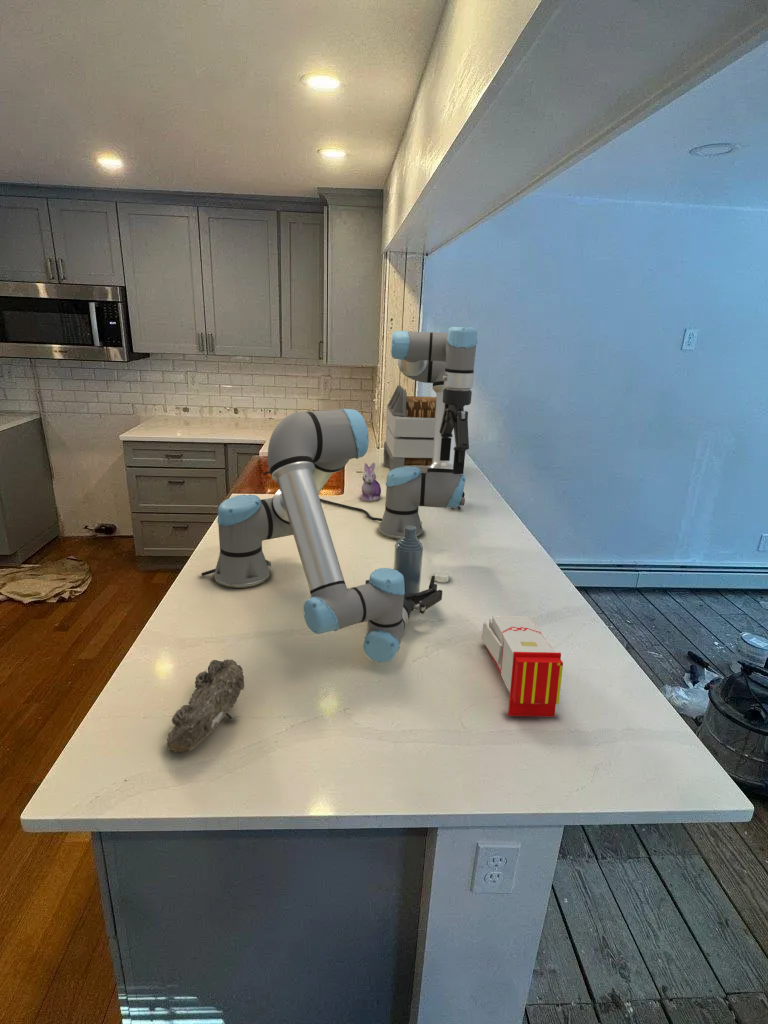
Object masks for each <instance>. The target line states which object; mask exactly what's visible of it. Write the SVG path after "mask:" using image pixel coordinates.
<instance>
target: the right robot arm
mask: <svg viewBox="0 0 768 1024" xmlns="http://www.w3.org/2000/svg"><path fill="white" fill-rule="evenodd" d="M477 345H478V330H477V329H476V327H468V326H451V327H449V328H448V329H447V332H432V331H431V332H430V331H429V332H426V331H411V330H410V331H409V330H395V331H394V332H393V333H392V334H391V347H390V350H391V352H390V353H391V358H393V359H394V360H397V366H398V368H399V371H400V372H401V373H402V374H403V375H404V376H405V377H407V378H409V379H411V380H413V381H416V382H419V383H425V384H432V386H431V387H432V390H433V391H434V393H435V394H436V396H435V397H436V411H435V427H434V443H433V459H432V464H431V465H430V466H429V465H428V466H427V469H426V470H427V471H426V472H422V469H421V468H420V467H419V466H418V467H417V466H407V465H406V466H404V467H399V468H395V469H393V470H391V471H390V470H389V471H388V473H387V475H386V482H385V487H386V488H385V489H386V490H385V504H384V505H385V507H384V508H385V509H384V513H383V515H382V517H381V518H380V517H373V516H371V515H370V513H369V512H368V511H367V510H366V509H363V508H359V507H355V506H352V505H348V504H342V503H338V502H334V501H330V500H327V499H324V498H321V497H319V499H320V502H321V503H324V504H329V505H333V506H337V507H341V508H344V509H349V510H352V511H358V512H361V513H364V514H365V515H366V517H367V518H368V519H370V520H372V521H378V522H379V527H378V533H379V534H380V535H381V536H382V537H385V538H387V539H389V540H395V541H398V540H399V539H400V538H401V537H402V536H403V535H404V527H405V526H414V527H416V534H415V536H417V538H418V539H419V538H420V537H421V536H422V535H423V522H422V521H421V518H420V515H419V507H425V508H440V509H452V508H453V509H456V508H458V506H460V505H459V504H460V502H461V499H462V495H463V491H464V489H465V482H466V476H465V475H464V470H465V460H466V451H467V450H469V449H470V441H469V421H468V419H469V411H467V410H465V406H470V405H471V404H472V396H473V395H472V394H473V391H472V389H473V386H474V376H475V371H474V370H475V361H476V352H477ZM268 474H270V470H266V471H265V472H263V475H268Z"/></svg>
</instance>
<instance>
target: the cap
mask: <svg viewBox="0 0 768 1024" xmlns="http://www.w3.org/2000/svg"><path fill="white" fill-rule="evenodd" d="M433 576H435V581H436V582H438V583H448V582H449V580H450V574H449V572H447V571H444V570H437V571H435V572H434V575H433Z"/></svg>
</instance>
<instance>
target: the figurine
mask: <svg viewBox="0 0 768 1024" xmlns="http://www.w3.org/2000/svg"><path fill="white" fill-rule="evenodd" d="M363 468H364V470H363V471H364V472H363V474H362V481H363V483H362V485H361V496H360V498H361V500H362V501H364V502H373V501H377V500H380V499H381V495H382V487H381V484H380V482H379V481H378V480H376V479H377V476H376V473H375V468H376V462H372V463H371V465H370V466H369V464H367V462H365V463H364V464H363Z"/></svg>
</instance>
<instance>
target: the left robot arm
mask: <svg viewBox="0 0 768 1024" xmlns="http://www.w3.org/2000/svg"><path fill="white" fill-rule="evenodd" d="M369 442H370V441H369V429H368V427H367V423H366V421H365V418H364V417H363V415H362V414H361V413H360V412H359V411H358V410H356V409H353V408H338V409H324V410H323V409H322V410H312V411H311V410H309V411H296V412H293V413H290V414H288V415H287V416H285V417H284V418H282V419H281V421H279V422H278V423H277V424H276V426H275V428H274V429H273V431H272V433H271V436H270V438H269V442H268V446H267V467H268V471H270V473H269V474H270V477H271V479H272V480H273V481H274V482H277V484H278V487H279V489H277V491H276V492H275V493H274V495H273V497H270V498H262V499H261V498H260V497H259V496H258V495H255V494H239V495H238V494H237V495H235V496H231V497H229V498H226V499H224V500H223V501H222V502H221V503H220V504H219V505H218V508H217V520H216V521H217V525H218V540H219V554H218V555H219V556H218V558H217V562H216V565H215V568H213V569H210V570H207V571H204V572H201V576H202V577H204V576H207V575H211V574H213V573H214V580H215V582H216V583H217V584H218V585H220V586H222V587H225V588H230V589H247V588H252V587H256V586H259V585H262V584H264V583H265V582H266V581H267V580H268V579H269V577H270V568H272V561H270V560H267V559H266V557H265V554H264V552H263V542H264V541H267V540H272V539H278V538H279V539H280V538H285V537H290V536H293V538H294V542H295V546H296V549H297V552H298V556H299V559H300V562H301V565H302V569H303V573H304V577H305V579H306V583H307V586H308V590H309V593H310V597H309V598H307V599H306V600H305V601H304V603H303V608H302V609H303V618H304V621H305V624H306V626H307V627H308V629H309V630H310V632H311V633H313V634H316V635H322V634H326V633H329V632H336V631H339V630H341V629H344V628H347V627H351V626H354V625H357V624H361V623H364V622H367V632H366V634H365V636H364V641H363V647H362V648H363V652H364V654H365V655H366V657H368V658H369V659H370V661H372V662H375V663H379V664H383V663H388V662H391V661H392V660H393V659H394V658H395V657H396V656H397V654H398V652H399V650H400V648H401V647H400V646H401V642H402V639H403V636H404V633H405V631H406V628H407V625H408V622H409V619H410V617H411V613H412V612H413V611H415V610H416V611H419V614H421V615H424V614H425V613H426V611H427V610H429V609H430V608H432V607H433V606H434V605H436V604H438V603H439V602H441V601H442V600H443V590H442V589H438V584H437V583H435V581H436V580H435V576H434V575H432V576H431V578H430V582H429V585H428V589H425V590H422V591H420V592H419V593H416V594H414V593H411V594H408V595H405V586H404V577H403V575H402V574H401V573H400V572H398V571H397V570H394V568H389V567H381V568H376V569H375V570H374V571H372V572H371V573H369V574H370V575H369V578H368V579H365V584H361V585H357V586H353V587H347V583H346V582H345V579H344V574H343V572H342V568H341V564H340V561H339V558H338V554H337V551H336V548H335V544H334V542H333V538H332V535H331V532H330V529H329V525H328V522H327V518H326V516H325V512H324V509H323V505H322V502H321V501H320V499H321V498H320V495H319V494H320V493H321V491H322V490H323V488H324V487H325V486H326V484H327V482H328V481H329V479H330V478H331V476H332V475H333V474H335V473H339V472H340V471H342V470H343V469H344V468H345V467H346V465H347V464H348V463H349V461H350V460H352V459H357V460H358V459H359V458H363V457H364V456H366V454H367V452H368V450H369ZM319 498H320V499H319Z"/></svg>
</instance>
